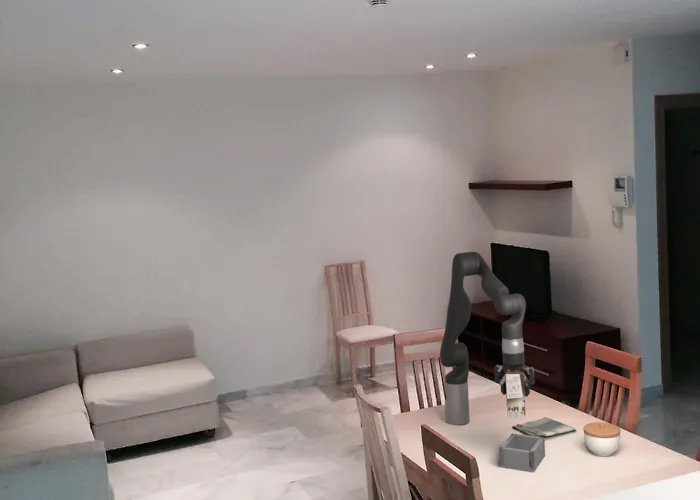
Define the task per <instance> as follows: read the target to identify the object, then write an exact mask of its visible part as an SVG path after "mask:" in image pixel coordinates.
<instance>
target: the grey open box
mask: <svg viewBox="0 0 700 500" xmlns="http://www.w3.org/2000/svg"><path fill="white" fill-rule="evenodd" d="M545 441H546V440H545V438H544V437H536V436H529V435H526V434H522V433H521V434H519V433H513V432H512V433H511V434H509V436H508V437H507V439H505V441H504V442H503V443H502V444H501V445H500V447H498V448H499V452H498V454H499V468H503V469H509V470H516V471H521V472H527V473H536V470H537V469H538V467H539V466H540V464H541V463H542V462H543V460H544V459H545V457H546V445H545Z"/></svg>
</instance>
